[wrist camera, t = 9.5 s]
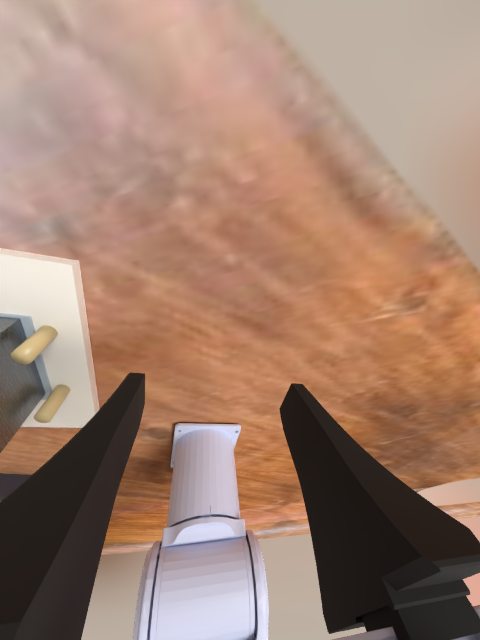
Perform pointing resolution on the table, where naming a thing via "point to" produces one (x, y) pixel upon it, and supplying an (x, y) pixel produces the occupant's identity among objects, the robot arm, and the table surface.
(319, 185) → the table surface
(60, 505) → the robot arm
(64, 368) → the cream pegged board
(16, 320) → the block
